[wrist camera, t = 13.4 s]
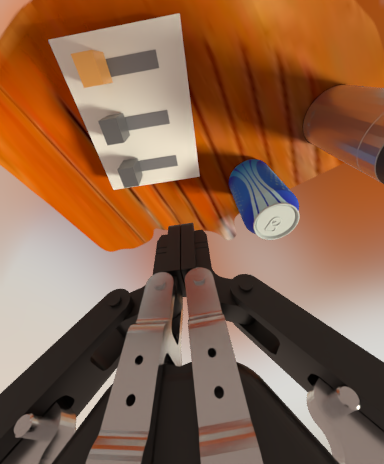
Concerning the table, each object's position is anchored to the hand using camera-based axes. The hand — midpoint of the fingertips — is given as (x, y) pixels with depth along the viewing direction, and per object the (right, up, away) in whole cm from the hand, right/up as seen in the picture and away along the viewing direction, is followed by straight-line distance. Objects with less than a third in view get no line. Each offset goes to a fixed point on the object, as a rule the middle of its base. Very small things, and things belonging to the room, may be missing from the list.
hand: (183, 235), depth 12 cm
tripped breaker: (-11, +21, +13) cm, 27 cm away
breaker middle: (-10, +16, +17) cm, 25 cm away
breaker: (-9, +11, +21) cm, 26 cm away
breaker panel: (-8, +20, +21) cm, 30 cm away
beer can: (+12, +12, +29) cm, 33 cm away
